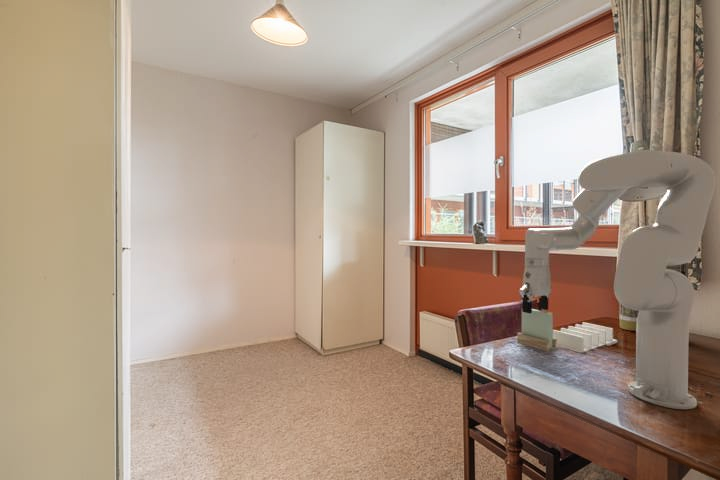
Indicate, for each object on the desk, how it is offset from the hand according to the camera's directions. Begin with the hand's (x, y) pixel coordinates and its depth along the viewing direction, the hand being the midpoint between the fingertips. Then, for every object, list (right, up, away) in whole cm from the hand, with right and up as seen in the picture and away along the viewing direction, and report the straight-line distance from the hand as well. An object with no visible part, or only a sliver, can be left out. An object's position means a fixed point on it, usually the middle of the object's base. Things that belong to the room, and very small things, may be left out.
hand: (535, 310), depth 118 cm
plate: (0, -12, 0) cm, 12 cm away
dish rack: (+19, -13, +2) cm, 22 cm away
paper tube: (+51, -12, +20) cm, 56 cm away
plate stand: (0, -13, 0) cm, 13 cm away
